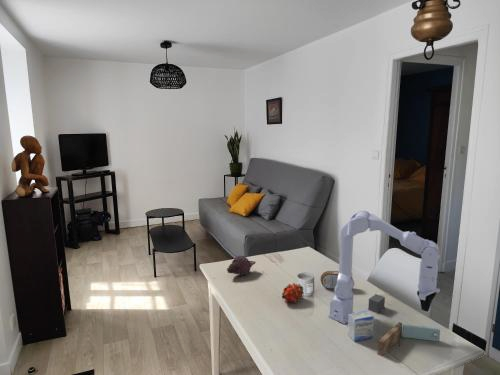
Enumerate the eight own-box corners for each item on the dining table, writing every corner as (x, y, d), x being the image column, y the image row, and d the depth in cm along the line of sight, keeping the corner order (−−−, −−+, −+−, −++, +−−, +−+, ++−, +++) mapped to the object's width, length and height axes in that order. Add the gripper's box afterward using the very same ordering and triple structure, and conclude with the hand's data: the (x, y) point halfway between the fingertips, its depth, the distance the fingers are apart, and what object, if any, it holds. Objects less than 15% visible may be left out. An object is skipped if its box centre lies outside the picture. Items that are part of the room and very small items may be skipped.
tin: (352, 287, 164) (352, 270, 163) (353, 290, 161) (354, 273, 159) (320, 286, 166) (320, 270, 164) (320, 289, 162) (321, 272, 161)
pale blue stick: (403, 338, 124) (404, 327, 123) (402, 335, 126) (403, 324, 125) (440, 343, 121) (441, 331, 120) (438, 339, 123) (439, 328, 122)
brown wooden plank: (382, 356, 115) (382, 342, 114) (377, 354, 117) (378, 340, 116) (402, 336, 126) (403, 323, 125) (397, 334, 127) (398, 321, 126)
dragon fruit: (305, 300, 156) (284, 312, 150) (293, 285, 160) (273, 296, 154) (311, 291, 150) (290, 303, 144) (299, 275, 154) (278, 286, 148)
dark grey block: (377, 313, 141) (377, 302, 140) (368, 310, 144) (368, 299, 143) (384, 308, 145) (384, 297, 144) (375, 304, 148) (375, 294, 147)
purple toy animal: (232, 282, 171) (232, 263, 169) (221, 276, 179) (220, 258, 177) (259, 272, 182) (259, 254, 180) (248, 267, 190) (247, 249, 188)
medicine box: (353, 342, 123) (354, 320, 122) (347, 334, 128) (348, 313, 126) (373, 338, 125) (374, 316, 124) (365, 331, 130) (366, 310, 128)
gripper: (436, 286, 115) (432, 322, 118) (444, 271, 126) (441, 305, 129) (413, 280, 120) (410, 315, 122) (424, 266, 131) (421, 299, 133)
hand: (425, 310), depth 126 cm, fingers closed
